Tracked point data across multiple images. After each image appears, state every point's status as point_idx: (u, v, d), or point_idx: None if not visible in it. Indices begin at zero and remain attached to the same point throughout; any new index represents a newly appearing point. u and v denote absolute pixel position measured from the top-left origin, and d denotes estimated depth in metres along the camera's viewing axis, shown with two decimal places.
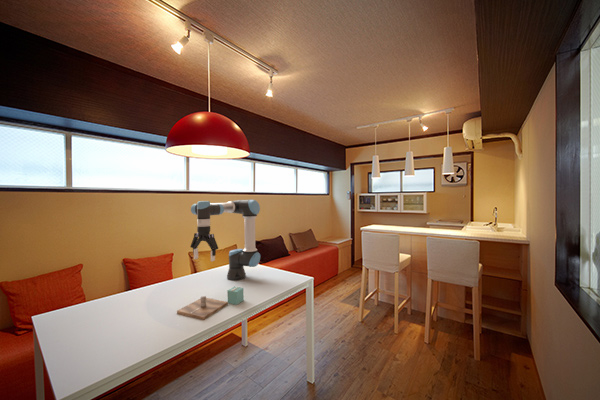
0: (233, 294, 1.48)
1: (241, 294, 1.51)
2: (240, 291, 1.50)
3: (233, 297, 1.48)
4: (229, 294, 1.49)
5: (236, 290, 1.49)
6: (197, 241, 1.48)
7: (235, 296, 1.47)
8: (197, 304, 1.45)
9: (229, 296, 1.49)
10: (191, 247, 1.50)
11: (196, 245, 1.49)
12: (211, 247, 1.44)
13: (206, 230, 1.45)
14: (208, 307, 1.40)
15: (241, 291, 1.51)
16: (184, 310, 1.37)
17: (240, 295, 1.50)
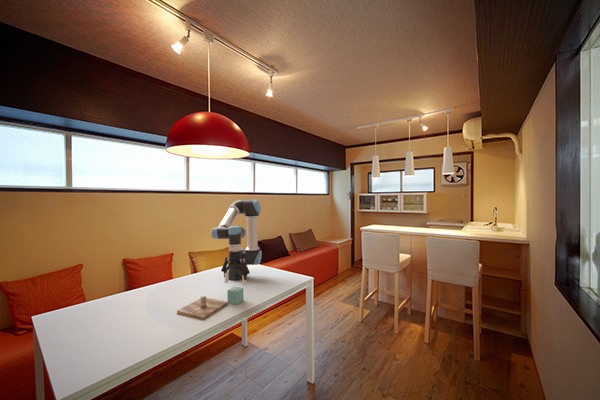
0: (233, 294, 1.48)
1: (241, 294, 1.51)
2: (240, 291, 1.50)
3: (233, 297, 1.48)
4: (229, 294, 1.49)
5: (236, 290, 1.49)
6: (228, 265, 1.51)
7: (235, 296, 1.47)
8: (197, 304, 1.45)
9: (229, 296, 1.49)
10: None
11: (227, 269, 1.53)
12: (243, 272, 1.47)
13: (238, 255, 1.48)
14: (208, 307, 1.40)
15: (241, 291, 1.51)
16: (184, 310, 1.37)
17: (240, 295, 1.50)
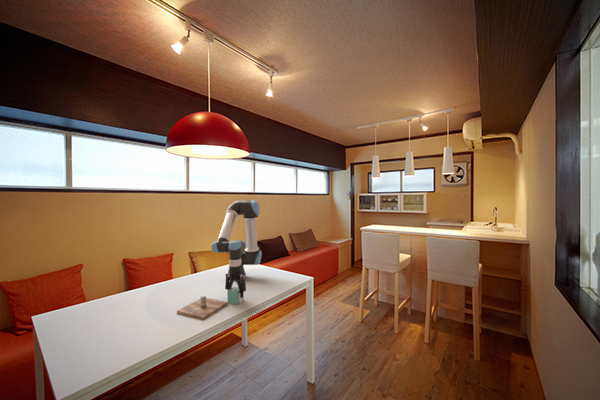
0: (233, 294, 1.48)
1: None
2: None
3: (233, 297, 1.48)
4: (229, 294, 1.49)
5: (236, 290, 1.49)
6: (230, 281, 1.51)
7: (235, 296, 1.47)
8: (197, 304, 1.45)
9: (229, 296, 1.49)
10: None
11: (230, 286, 1.52)
12: (240, 289, 1.48)
13: (238, 270, 1.49)
14: (208, 307, 1.40)
15: None
16: (184, 310, 1.37)
17: None
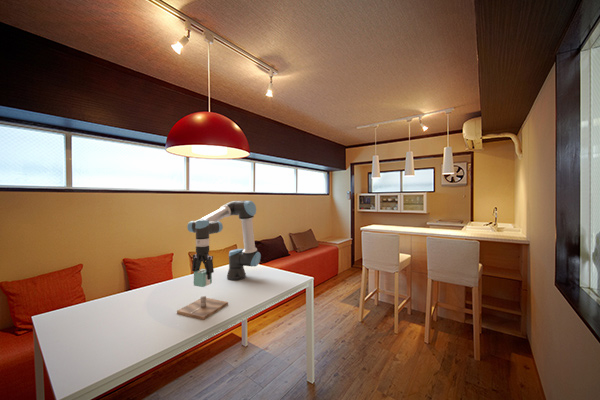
0: (199, 276, 1.38)
1: None
2: None
3: (199, 279, 1.38)
4: (195, 276, 1.39)
5: (203, 272, 1.39)
6: (197, 263, 1.42)
7: (201, 278, 1.38)
8: (197, 304, 1.45)
9: (195, 278, 1.39)
10: None
11: (197, 268, 1.42)
12: (207, 270, 1.39)
13: (205, 250, 1.39)
14: (208, 307, 1.40)
15: None
16: (184, 310, 1.37)
17: None
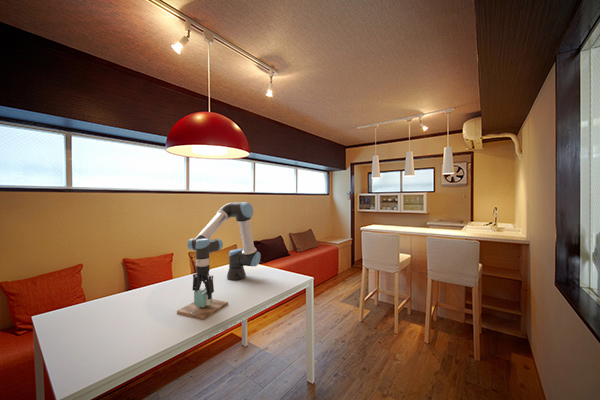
0: (200, 296, 1.38)
1: None
2: None
3: (200, 299, 1.38)
4: (196, 296, 1.39)
5: (203, 292, 1.40)
6: (197, 282, 1.42)
7: (202, 298, 1.38)
8: None
9: (196, 298, 1.40)
10: (193, 290, 1.43)
11: (198, 287, 1.43)
12: (207, 290, 1.39)
13: (205, 270, 1.39)
14: (208, 307, 1.40)
15: None
16: (184, 310, 1.37)
17: None
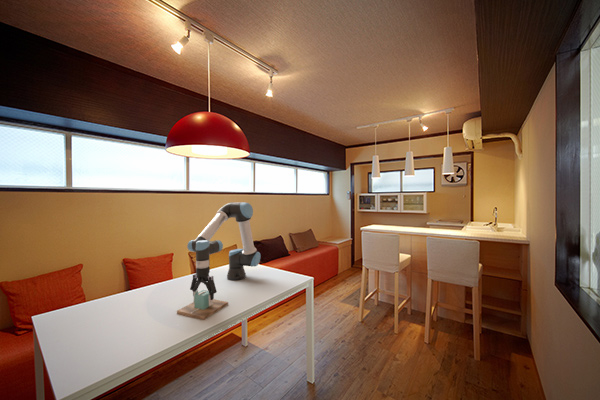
0: (200, 298, 1.38)
1: None
2: (208, 295, 1.41)
3: (200, 301, 1.38)
4: (196, 298, 1.40)
5: (203, 294, 1.40)
6: (196, 283, 1.42)
7: (202, 300, 1.38)
8: None
9: (196, 300, 1.40)
10: (191, 289, 1.44)
11: (196, 287, 1.43)
12: (209, 291, 1.39)
13: (205, 272, 1.39)
14: (208, 307, 1.40)
15: None
16: (184, 310, 1.37)
17: (208, 299, 1.41)
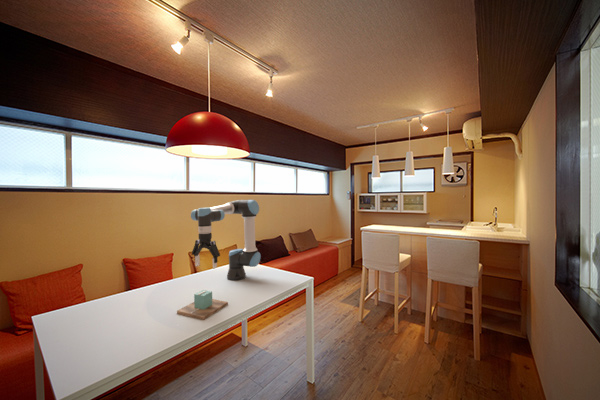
0: (200, 298, 1.38)
1: (209, 298, 1.42)
2: (208, 295, 1.41)
3: (200, 301, 1.38)
4: (196, 298, 1.40)
5: (203, 294, 1.40)
6: (198, 248, 1.47)
7: (202, 300, 1.38)
8: None
9: (196, 300, 1.40)
10: (192, 254, 1.49)
11: (197, 252, 1.48)
12: (213, 254, 1.43)
13: (207, 237, 1.44)
14: (208, 307, 1.40)
15: (209, 295, 1.42)
16: (184, 310, 1.37)
17: (208, 299, 1.41)
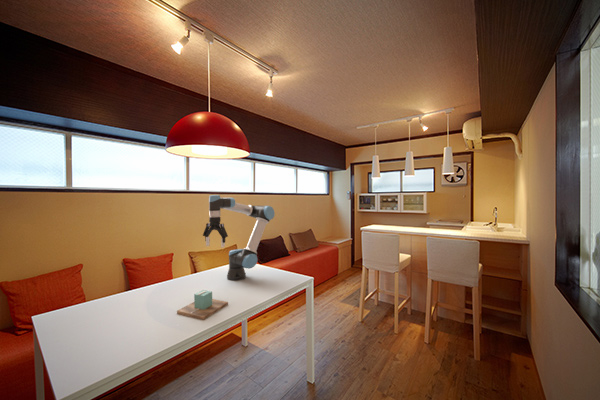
0: (200, 298, 1.38)
1: (209, 298, 1.42)
2: (208, 295, 1.41)
3: (200, 301, 1.38)
4: (196, 298, 1.40)
5: (203, 294, 1.40)
6: (209, 230, 1.69)
7: (202, 300, 1.38)
8: None
9: (196, 300, 1.40)
10: (203, 235, 1.71)
11: (208, 234, 1.70)
12: (221, 235, 1.65)
13: (217, 220, 1.66)
14: (208, 307, 1.40)
15: (209, 295, 1.42)
16: (184, 310, 1.37)
17: (208, 299, 1.41)
